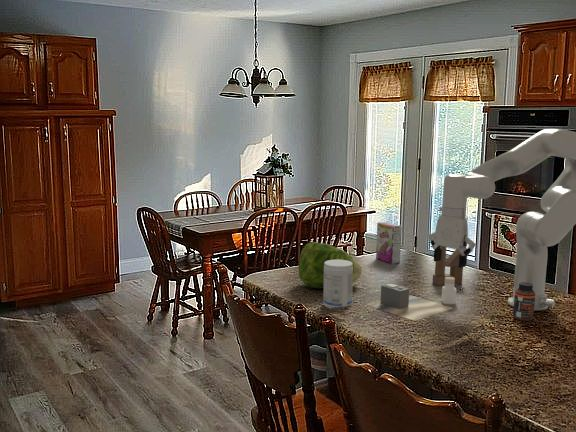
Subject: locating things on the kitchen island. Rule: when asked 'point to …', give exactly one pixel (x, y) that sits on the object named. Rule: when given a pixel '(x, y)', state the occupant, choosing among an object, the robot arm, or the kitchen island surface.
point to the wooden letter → (450, 262)
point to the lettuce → (321, 263)
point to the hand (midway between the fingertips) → (449, 263)
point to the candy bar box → (388, 242)
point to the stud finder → (394, 296)
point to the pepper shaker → (449, 291)
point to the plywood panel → (414, 308)
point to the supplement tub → (338, 283)
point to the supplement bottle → (524, 302)
